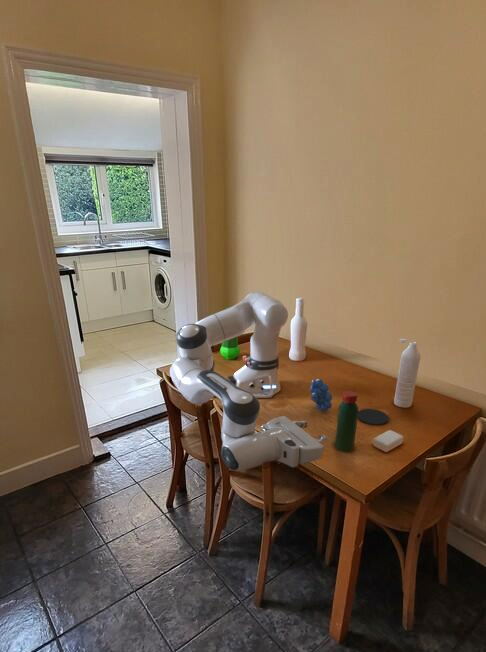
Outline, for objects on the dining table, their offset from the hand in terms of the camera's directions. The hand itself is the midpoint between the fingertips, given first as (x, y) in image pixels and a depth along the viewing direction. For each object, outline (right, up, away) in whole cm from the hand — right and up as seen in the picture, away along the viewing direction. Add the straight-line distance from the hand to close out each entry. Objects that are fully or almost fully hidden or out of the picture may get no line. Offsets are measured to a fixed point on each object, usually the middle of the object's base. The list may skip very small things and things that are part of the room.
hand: (315, 430), depth 123 cm
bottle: (+6, +26, +80) cm, 84 cm away
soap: (+25, -6, +10) cm, 27 cm away
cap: (+11, +11, +1) cm, 15 cm away
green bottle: (+11, -6, +9) cm, 15 cm away
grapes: (+7, +4, +32) cm, 33 cm away
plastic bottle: (-28, +27, +82) cm, 90 cm away
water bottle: (+39, +7, +36) cm, 54 cm away
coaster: (+25, +2, +26) cm, 36 cm away
